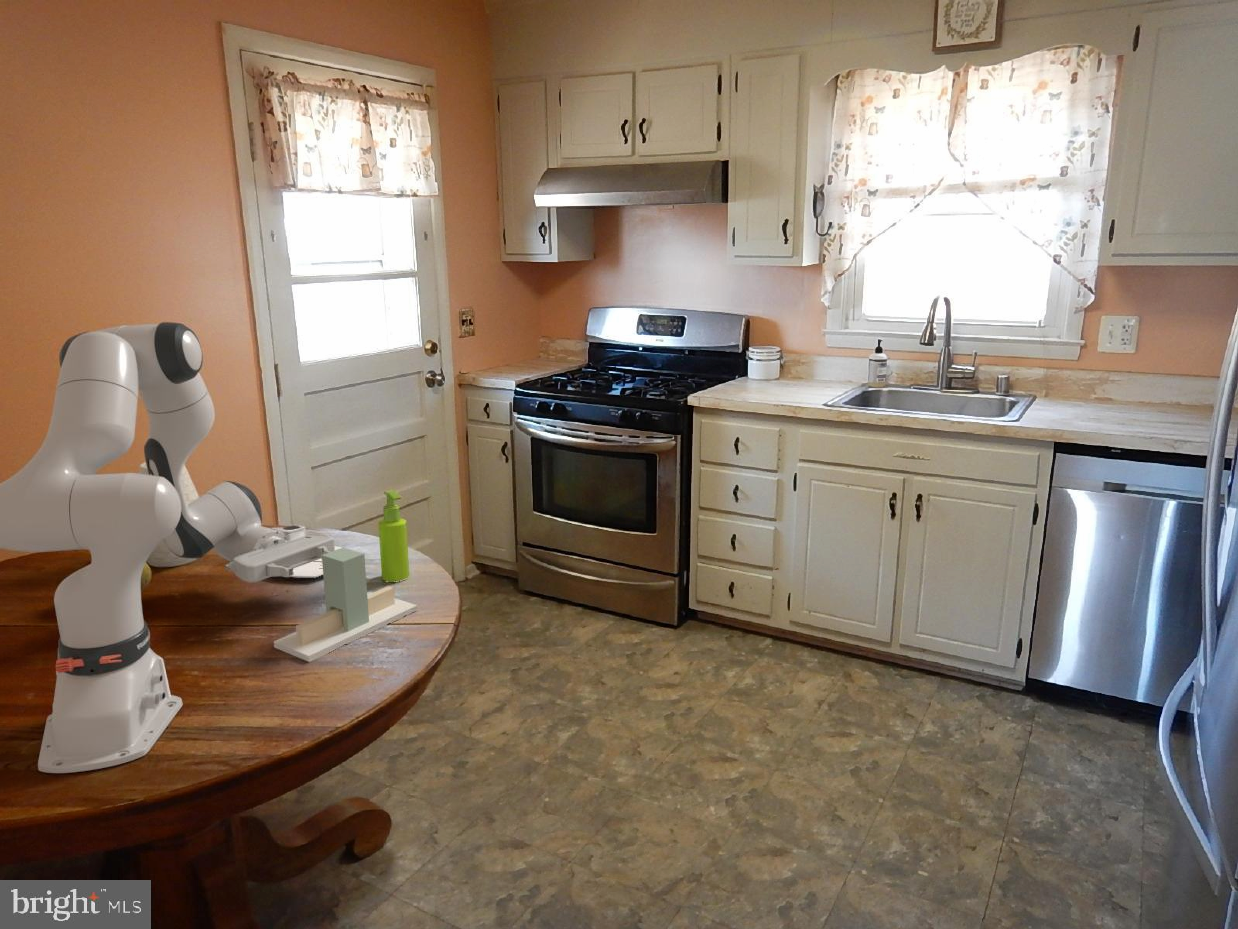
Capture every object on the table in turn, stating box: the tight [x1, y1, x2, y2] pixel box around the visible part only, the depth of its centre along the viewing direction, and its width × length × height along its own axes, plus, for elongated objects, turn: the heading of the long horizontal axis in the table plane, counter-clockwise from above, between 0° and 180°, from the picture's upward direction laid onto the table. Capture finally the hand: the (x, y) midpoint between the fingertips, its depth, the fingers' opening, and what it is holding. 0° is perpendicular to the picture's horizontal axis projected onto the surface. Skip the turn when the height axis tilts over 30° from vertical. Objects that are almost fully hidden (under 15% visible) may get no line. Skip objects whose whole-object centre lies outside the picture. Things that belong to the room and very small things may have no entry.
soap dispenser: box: [377, 489, 410, 583], centre depth 186 cm, size 6×7×20 cm
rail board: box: [273, 585, 418, 663], centre depth 164 cm, size 26×10×5 cm, turn 147°
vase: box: [137, 461, 200, 568], centre depth 196 cm, size 18×17×23 cm
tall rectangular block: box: [322, 547, 369, 631], centre depth 162 cm, size 5×6×14 cm
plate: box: [288, 545, 343, 579], centre depth 195 cm, size 19×19×2 cm
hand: (310, 564), depth 167 cm, fingers open, 8 cm apart
